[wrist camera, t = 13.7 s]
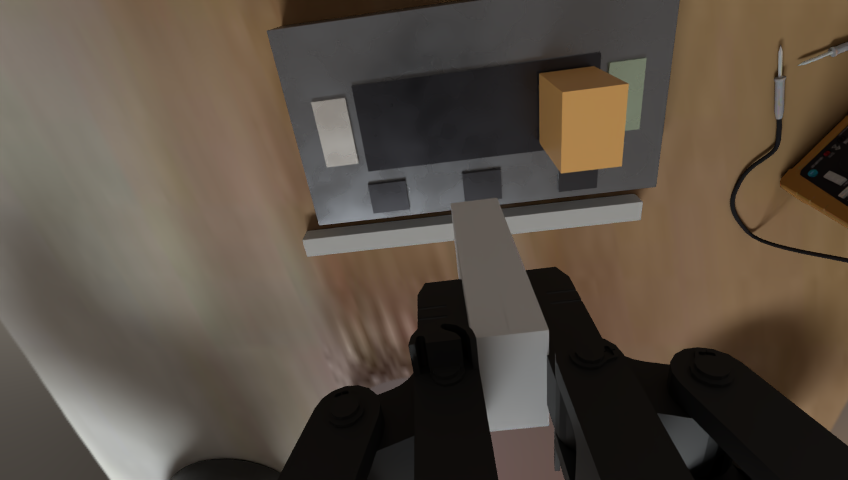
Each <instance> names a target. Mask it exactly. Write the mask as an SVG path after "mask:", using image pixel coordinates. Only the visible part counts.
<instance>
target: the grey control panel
mask: <svg viewBox="0 0 848 480" xmlns="http://www.w3.org/2000/svg"><path fill="white" fill-rule="evenodd" d="M679 1H680V0H459V1H453V2H446V3H439V4H432V5H425V6H418V7H411V8H404V9H397V10H390V11H383V12H376V13H369V14H362V15H355V16H348V17H341V18H334V19H327V20H320V21H313V22H306V23H299V24H293V25H286V26H280V27H277V28H274V29H271V30H268V31H267V34H268V37H269V41H270V45H271V49H272V52H273V56H274V60H275V63H276V67H277V71H278V74H279V78H280V82H281V86H282V89H283V93H284V97H285V100H286V104H287V108H288V112H289V115H290V119H291V123H292V126H293V130H294V134H295V137H296V141H297V145H298V149H299V152H300V156H301V160H302V163H303V167H304V171H305V175H306V178H307V182H308V186H309V189H310V193H311V197H312V201H313V204H314V208H315V212H316V215H317V219H318V223H319V225H327V224H336V223H344V222H353V221H362V220H371V219H379V218H388V217H397V216H405V215H414V214H423V213H432V212H440V211H449V210H451V204H450V203H458V202H466V201H474V200H482V199H490V198H497V199H498V201H499V204H500V205H501V204H510V203H519V202H528V201H536V200H545V199H554V198H562V197H571V196H580V195H589V194H597V193H606V192H615V191H624V190H632V189H641V188H650V187H656V183H657V175H658V167H659V159H660V151H661V143H662V135H663V127H664V119H665V112H666V104H667V96H668V88H669V80H670V72H671V64H672V56H673V48H674V40H675V33H676V25H677V17H678V9H679ZM591 66H595V67H597V68H599V69H601V70H603V71H605V72H607V73H609V74H611V75H613V76H615V77H617V78H618V79H620V80H622V81H624V82H626V83H628V84H629V88H628V100H627V112H626V123H625V135H624V147H623V158H622V166H620V167H612V168H603V169H595V170H586V171H578V172H569V173H560V171H559V170H558V169H557V167H556V166H555V164H554V163H553V161H552V160H551V159H550V157H549V156H548V154H547V153H546V152H545V150H544V149H543V147H542V146H541V144H540V142H539V73H546V72H553V71H561V70H568V69H576V68H583V67H591Z"/></svg>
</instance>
